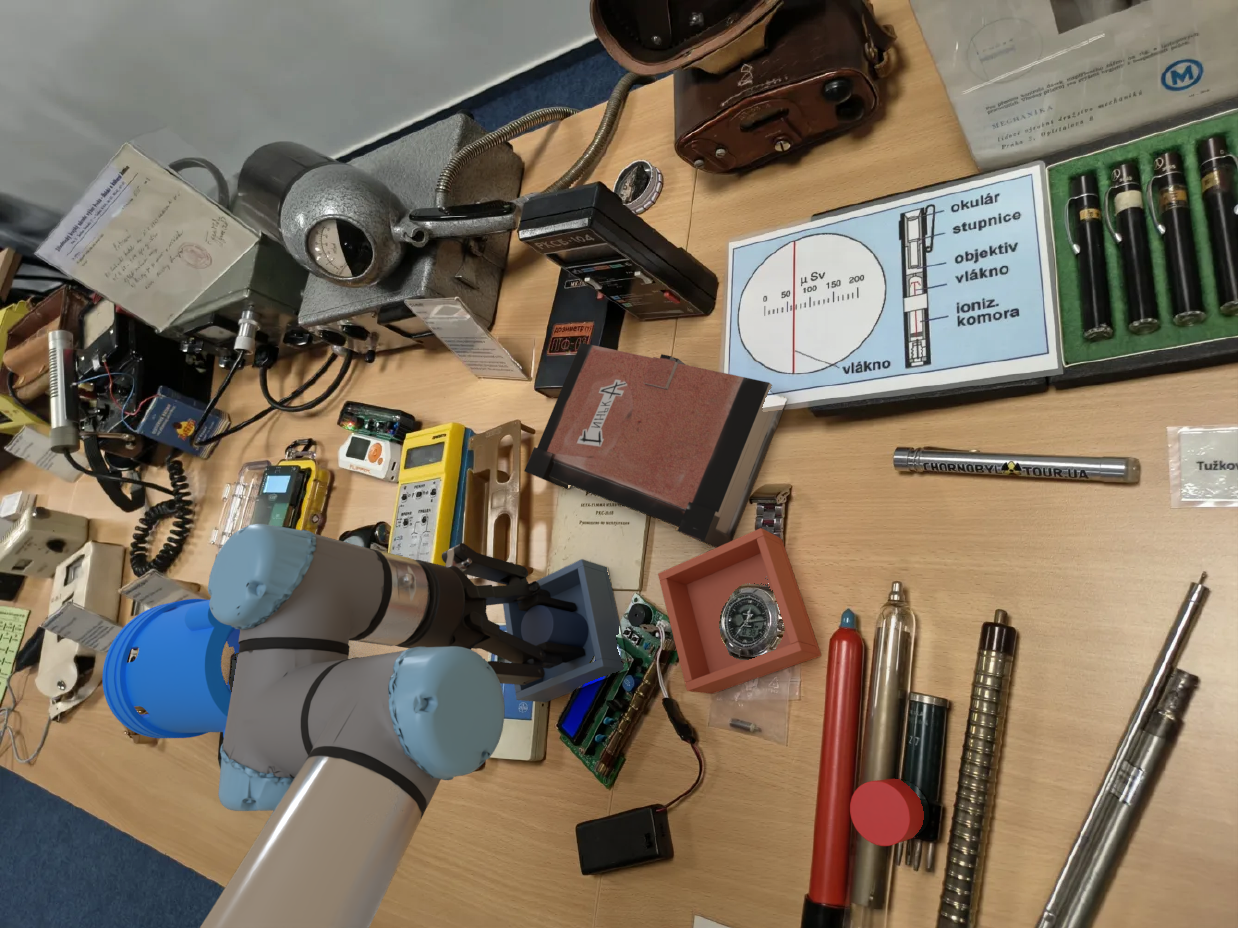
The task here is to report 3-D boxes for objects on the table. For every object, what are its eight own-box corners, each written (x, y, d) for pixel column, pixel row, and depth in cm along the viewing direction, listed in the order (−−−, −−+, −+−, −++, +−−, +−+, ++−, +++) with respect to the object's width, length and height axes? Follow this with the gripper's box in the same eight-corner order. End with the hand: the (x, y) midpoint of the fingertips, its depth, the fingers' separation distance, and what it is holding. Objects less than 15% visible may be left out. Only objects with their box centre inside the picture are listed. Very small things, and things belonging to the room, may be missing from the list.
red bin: (821, 655, 68) (801, 650, 64) (711, 694, 73) (686, 691, 69) (782, 538, 73) (761, 527, 70) (682, 581, 78) (657, 573, 74)
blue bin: (630, 669, 79) (603, 665, 75) (545, 702, 84) (516, 700, 80) (607, 567, 84) (581, 558, 80) (529, 603, 89) (501, 596, 85)
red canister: (939, 831, 59) (919, 838, 54) (885, 843, 61) (862, 851, 56) (917, 772, 61) (896, 774, 56) (865, 785, 63) (841, 788, 58)
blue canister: (591, 645, 81) (556, 639, 77) (560, 658, 83) (524, 653, 78) (584, 607, 83) (549, 598, 79) (553, 620, 85) (518, 613, 80)
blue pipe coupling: (269, 658, 123) (187, 770, 110) (165, 569, 113) (60, 681, 99) (368, 647, 110) (289, 772, 97) (260, 546, 100) (155, 670, 86)
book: (790, 392, 77) (770, 374, 74) (727, 551, 76) (704, 541, 72) (604, 352, 94) (580, 335, 90) (551, 482, 93) (524, 471, 89)
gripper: (444, 690, 59) (614, 702, 77) (424, 494, 67) (582, 547, 86) (380, 717, 62) (557, 723, 81) (369, 527, 71) (532, 571, 89)
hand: (570, 632), depth 83 cm, fingers closed on blue canister, 4 cm apart
